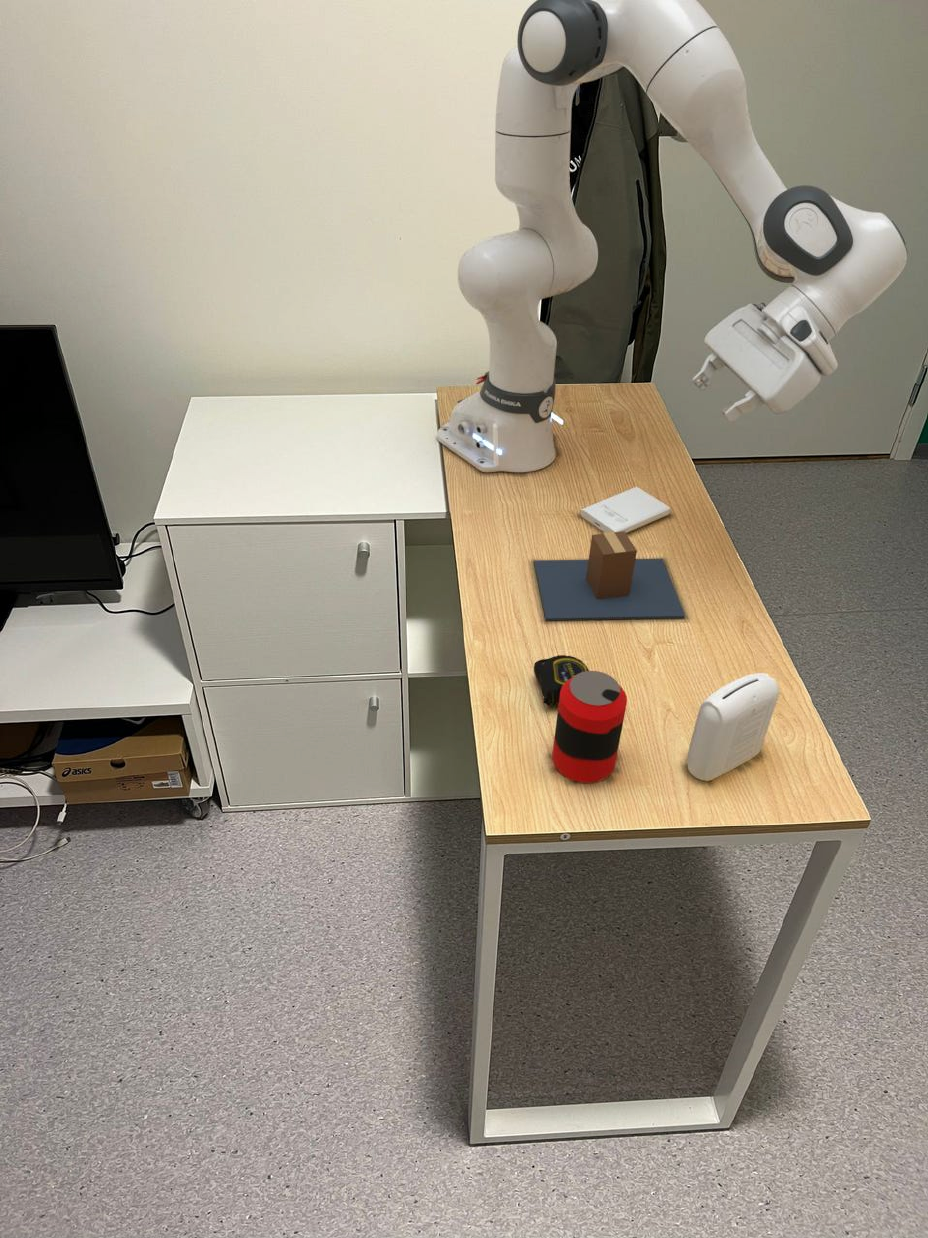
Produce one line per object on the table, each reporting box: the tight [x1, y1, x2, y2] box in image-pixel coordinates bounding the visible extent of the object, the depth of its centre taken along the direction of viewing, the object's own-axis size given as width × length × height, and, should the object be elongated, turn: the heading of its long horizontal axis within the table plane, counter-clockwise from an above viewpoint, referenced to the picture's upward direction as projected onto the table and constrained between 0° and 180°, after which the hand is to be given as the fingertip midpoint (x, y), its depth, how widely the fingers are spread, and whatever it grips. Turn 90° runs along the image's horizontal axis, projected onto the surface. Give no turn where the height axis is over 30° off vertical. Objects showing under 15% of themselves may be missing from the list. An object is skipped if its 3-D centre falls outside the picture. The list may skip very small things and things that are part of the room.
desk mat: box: [533, 558, 686, 622], centre depth 142 cm, size 20×14×1 cm
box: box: [586, 531, 638, 599], centre depth 139 cm, size 5×5×8 cm
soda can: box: [551, 670, 628, 784], centre depth 112 cm, size 8×8×12 cm
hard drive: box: [579, 486, 671, 534], centre depth 157 cm, size 2×8×12 cm
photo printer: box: [685, 672, 780, 782], centre depth 112 cm, size 10×4×12 cm, turn 123°
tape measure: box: [533, 654, 590, 707], centre depth 124 cm, size 7×7×4 cm
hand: (710, 400), depth 130 cm, fingers open, 8 cm apart
